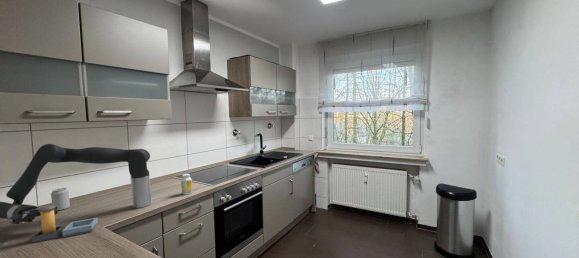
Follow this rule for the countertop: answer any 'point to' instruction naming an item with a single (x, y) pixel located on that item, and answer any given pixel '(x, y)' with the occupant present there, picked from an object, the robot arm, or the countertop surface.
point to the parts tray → (80, 227)
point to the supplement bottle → (186, 184)
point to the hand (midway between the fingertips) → (44, 215)
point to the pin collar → (48, 234)
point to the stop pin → (48, 219)
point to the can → (60, 198)
